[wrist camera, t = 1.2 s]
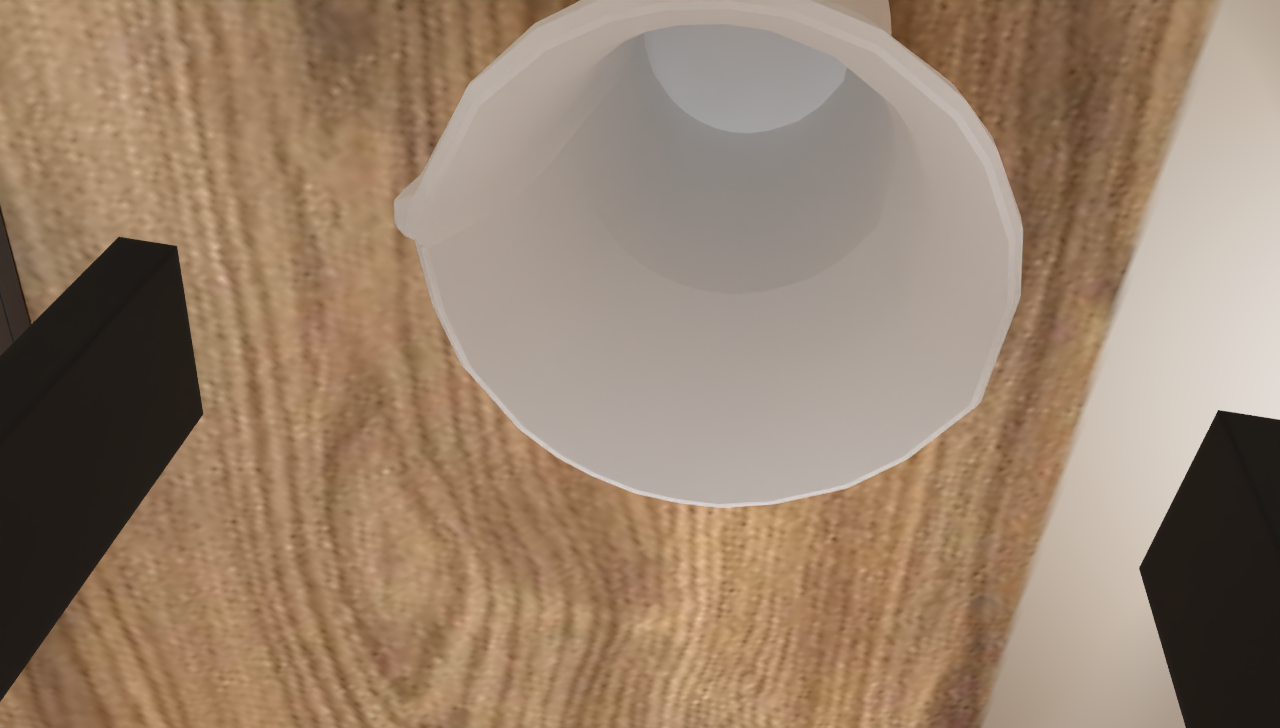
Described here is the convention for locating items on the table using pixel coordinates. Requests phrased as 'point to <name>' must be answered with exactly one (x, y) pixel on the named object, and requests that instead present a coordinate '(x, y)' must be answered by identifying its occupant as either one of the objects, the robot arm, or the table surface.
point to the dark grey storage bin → (10, 297)
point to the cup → (720, 245)
